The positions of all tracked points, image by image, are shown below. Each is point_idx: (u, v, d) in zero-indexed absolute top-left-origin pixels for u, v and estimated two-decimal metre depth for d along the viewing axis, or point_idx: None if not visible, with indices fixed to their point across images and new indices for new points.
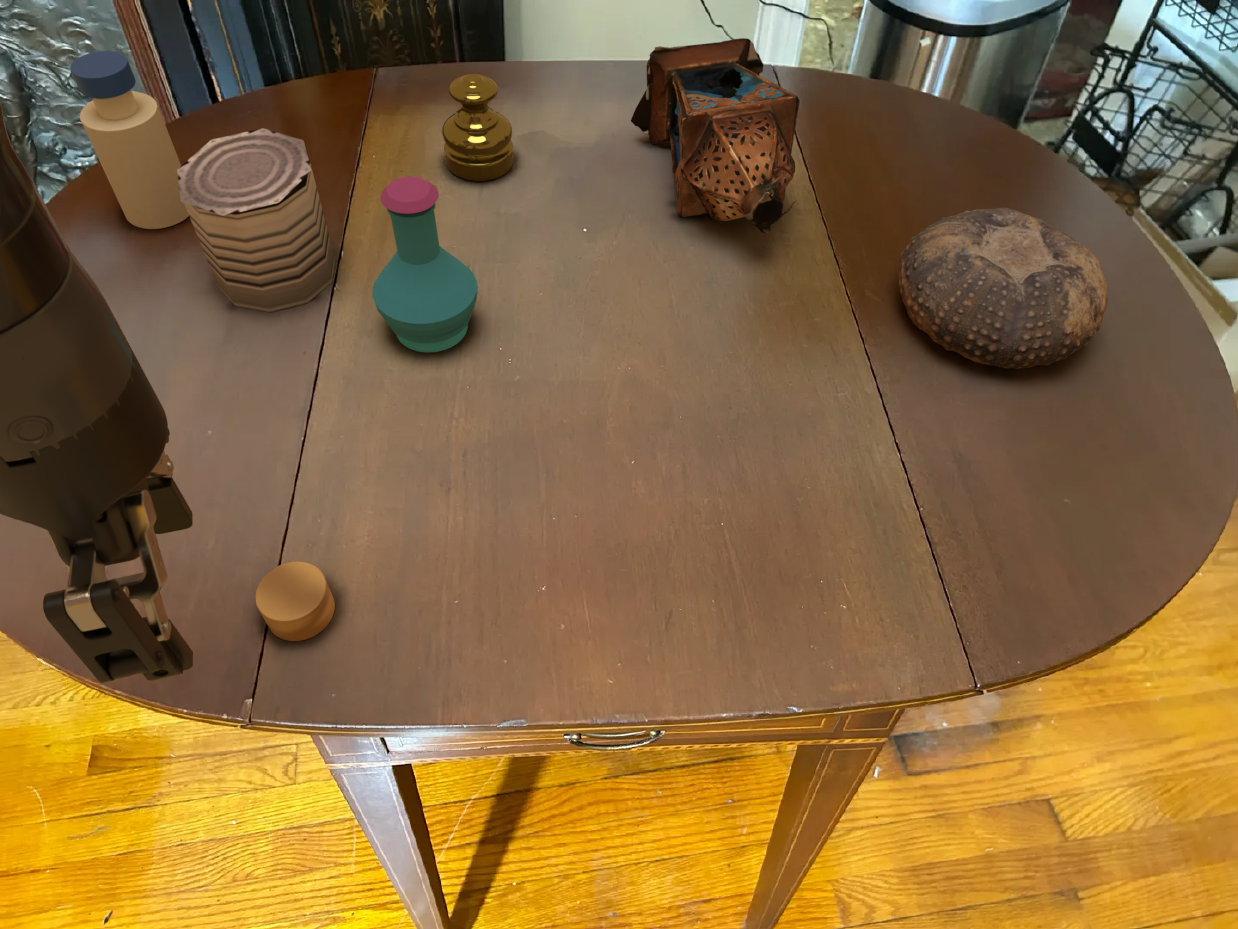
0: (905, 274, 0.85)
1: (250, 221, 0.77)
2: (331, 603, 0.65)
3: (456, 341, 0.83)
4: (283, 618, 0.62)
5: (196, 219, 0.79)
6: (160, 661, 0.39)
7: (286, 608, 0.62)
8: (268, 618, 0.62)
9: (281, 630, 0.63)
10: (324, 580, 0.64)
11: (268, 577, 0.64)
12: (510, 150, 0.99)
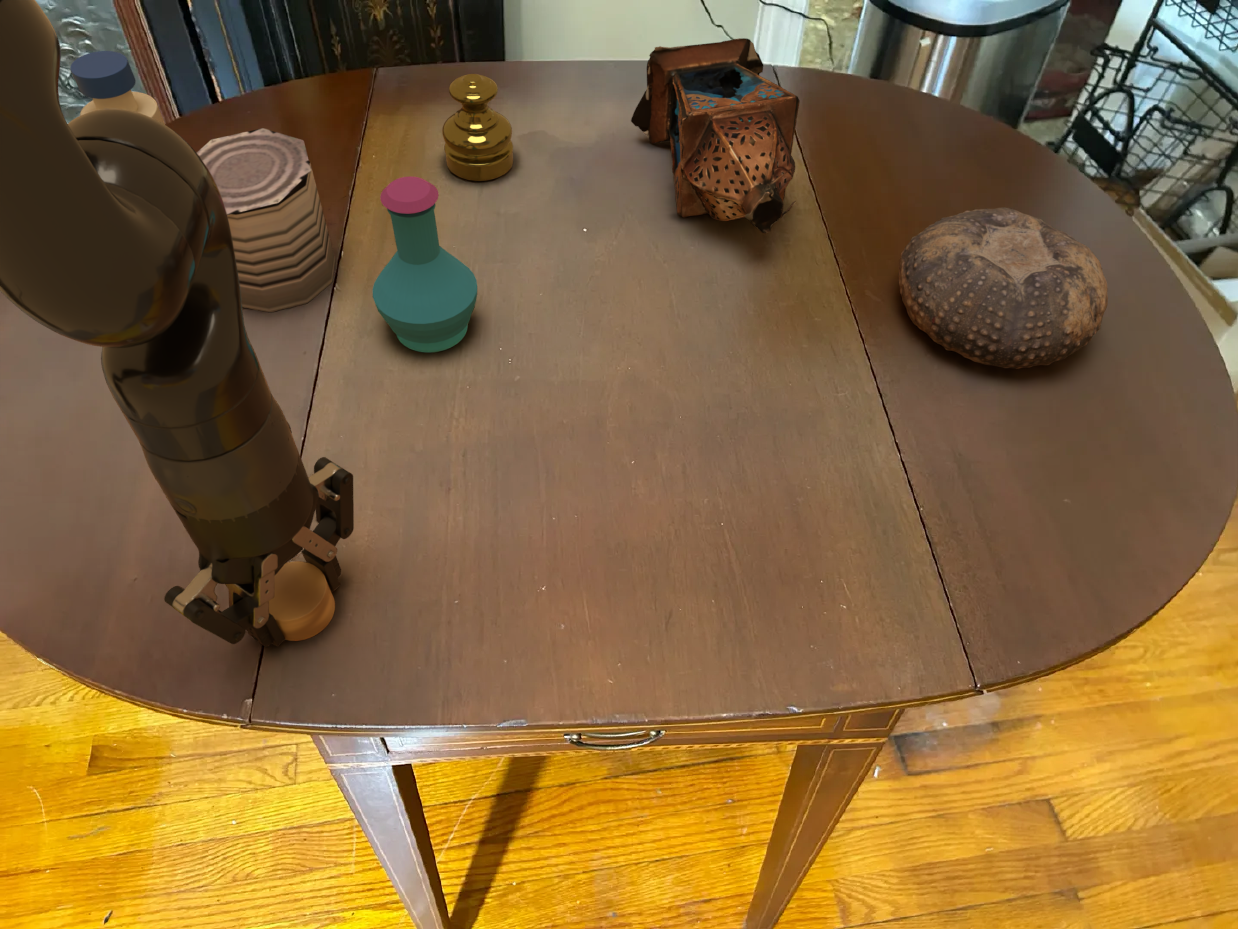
0: (905, 274, 0.85)
1: (250, 221, 0.77)
2: (331, 603, 0.65)
3: (456, 341, 0.83)
4: (283, 618, 0.62)
5: None
6: (235, 639, 0.59)
7: (286, 607, 0.63)
8: None
9: (281, 630, 0.63)
10: (324, 580, 0.64)
11: None
12: (510, 150, 0.99)
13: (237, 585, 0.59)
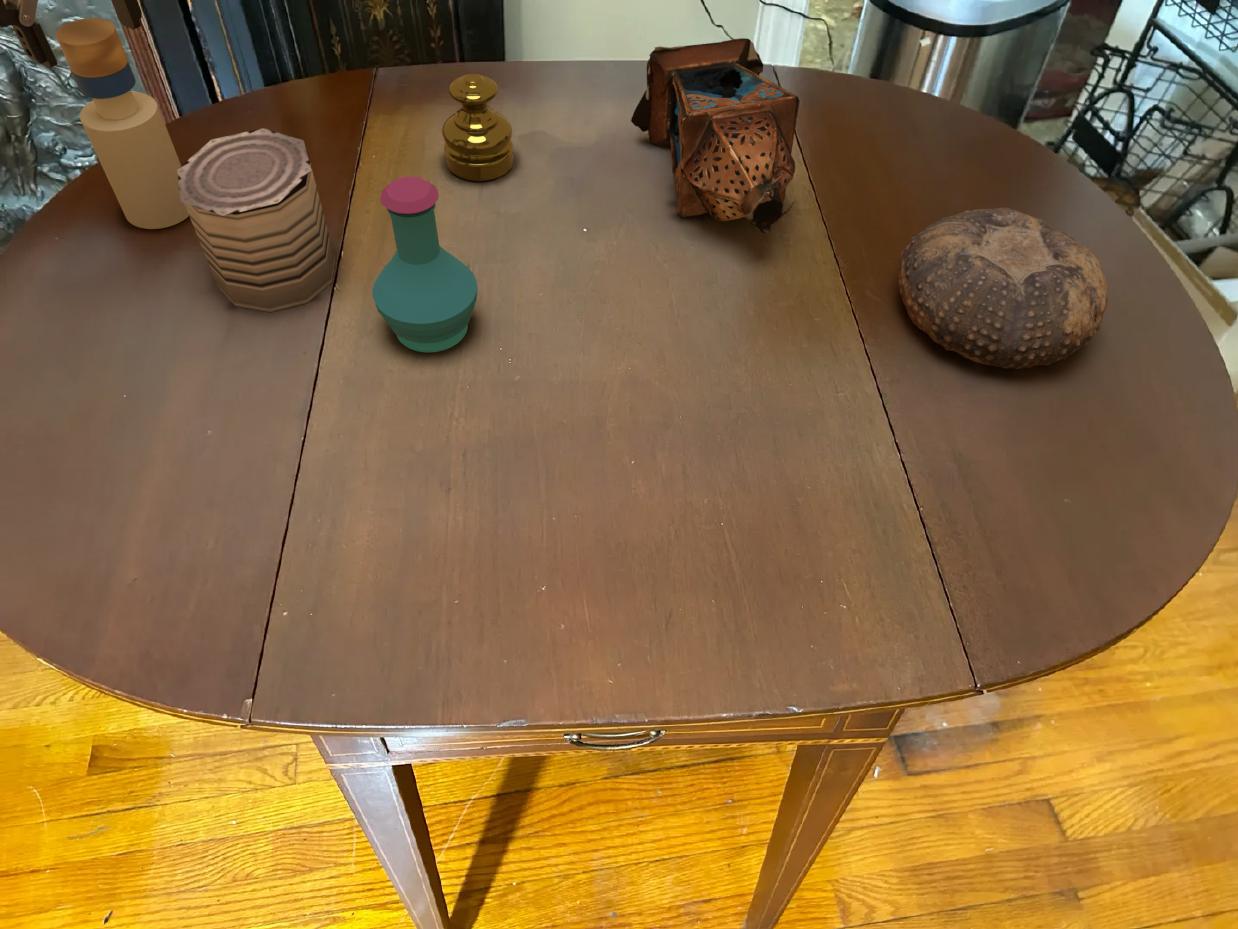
0: (905, 274, 0.85)
1: (250, 221, 0.77)
2: (122, 52, 0.81)
3: (456, 341, 0.83)
4: (76, 43, 0.78)
5: (196, 219, 0.79)
6: (0, 21, 0.72)
7: (79, 38, 0.78)
8: (64, 44, 0.78)
9: (77, 60, 0.79)
10: (114, 27, 0.80)
11: (69, 24, 0.80)
12: (510, 150, 0.99)
13: None
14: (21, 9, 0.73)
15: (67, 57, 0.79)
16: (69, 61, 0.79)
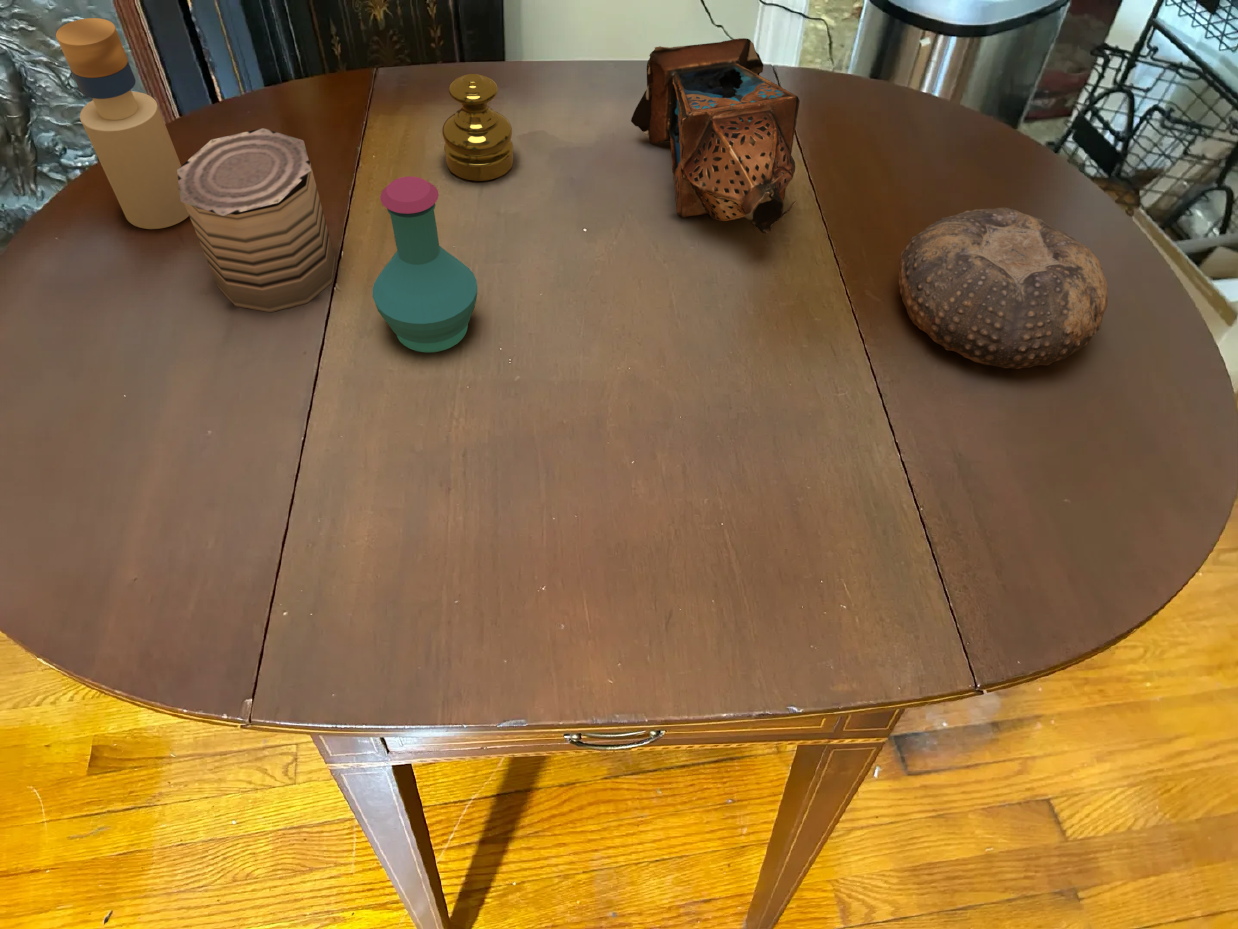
0: (905, 274, 0.85)
1: (250, 221, 0.77)
2: (122, 52, 0.81)
3: (456, 341, 0.83)
4: (76, 43, 0.78)
5: (196, 219, 0.79)
6: None
7: (79, 38, 0.78)
8: (64, 44, 0.78)
9: (77, 60, 0.79)
10: (114, 27, 0.80)
11: (69, 24, 0.80)
12: (510, 150, 0.99)
13: None
14: None
15: (67, 57, 0.79)
16: (69, 61, 0.79)
